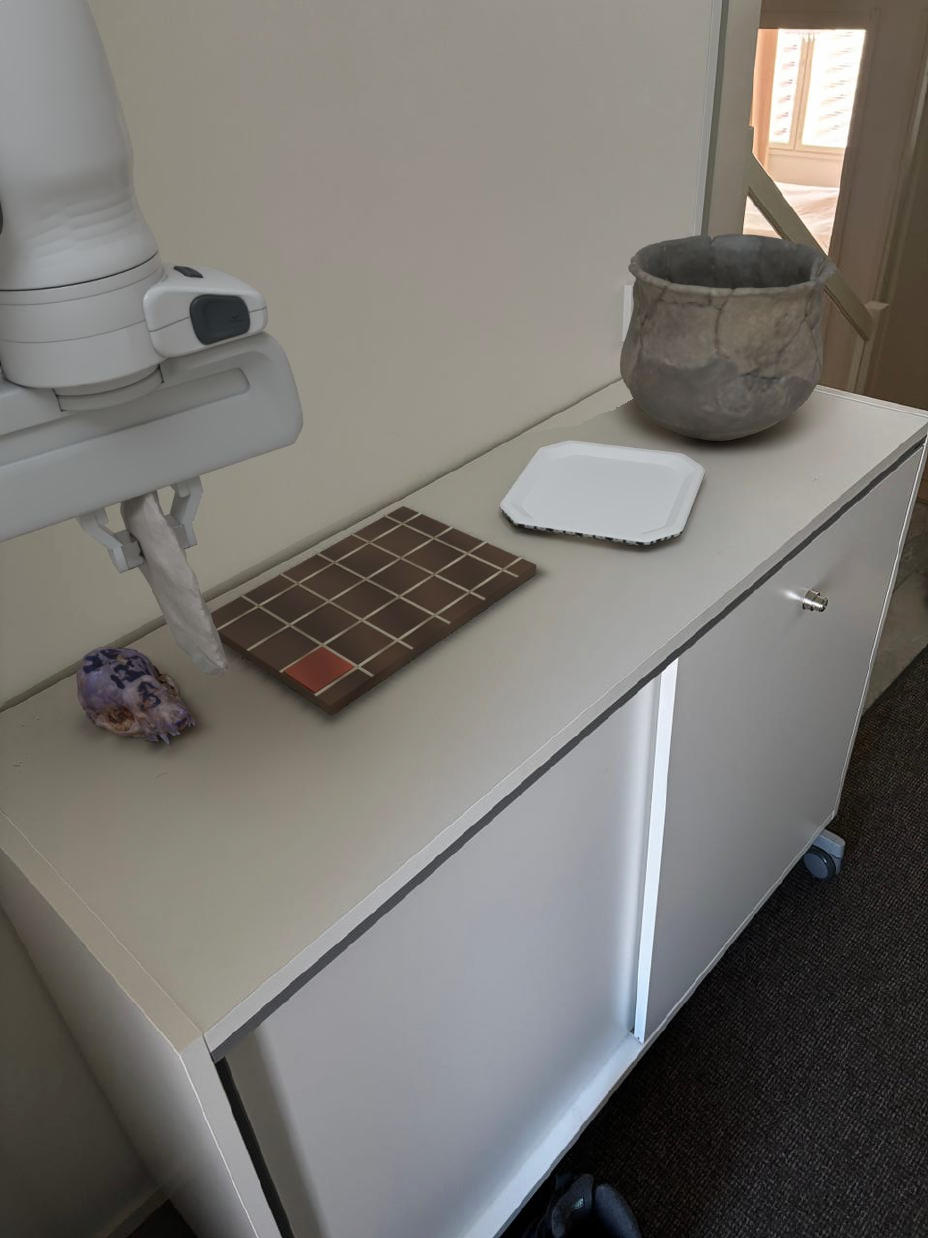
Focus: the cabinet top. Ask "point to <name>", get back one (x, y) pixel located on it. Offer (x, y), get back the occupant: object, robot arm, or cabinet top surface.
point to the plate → (605, 492)
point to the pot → (724, 332)
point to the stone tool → (174, 583)
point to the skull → (130, 695)
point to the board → (367, 605)
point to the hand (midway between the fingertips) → (156, 555)
